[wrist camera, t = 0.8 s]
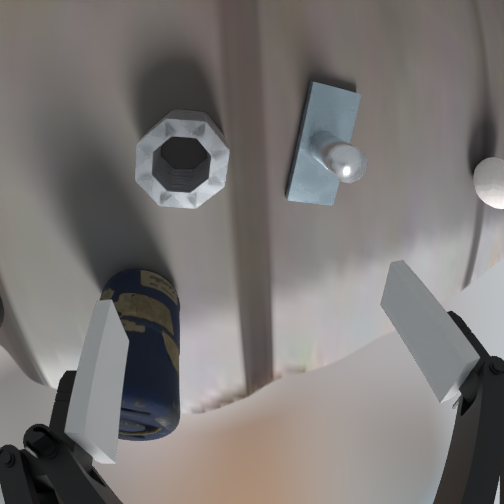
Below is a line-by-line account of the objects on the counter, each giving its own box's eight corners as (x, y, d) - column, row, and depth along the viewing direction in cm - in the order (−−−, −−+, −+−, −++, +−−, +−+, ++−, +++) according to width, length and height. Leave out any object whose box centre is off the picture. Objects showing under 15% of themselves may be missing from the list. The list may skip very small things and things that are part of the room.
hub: (145, 179, 29) (134, 204, 24) (150, 108, 26) (138, 117, 21) (217, 184, 31) (221, 210, 26) (227, 114, 27) (233, 124, 22)
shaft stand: (285, 196, 32) (305, 228, 27) (309, 81, 26) (339, 86, 20) (329, 201, 33) (356, 233, 28) (356, 93, 27) (394, 103, 22)
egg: (486, 194, 36) (523, 219, 30) (458, 192, 35) (497, 220, 29) (496, 152, 33) (536, 174, 26) (468, 147, 32) (512, 169, 25)
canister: (120, 249, 33) (80, 390, 18) (195, 284, 37) (201, 426, 22) (94, 306, 36) (62, 434, 21) (160, 334, 40) (156, 461, 25)
